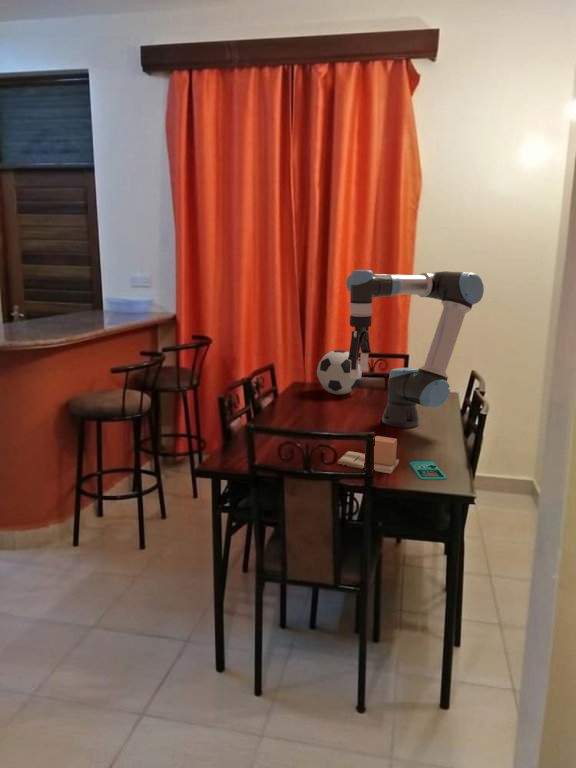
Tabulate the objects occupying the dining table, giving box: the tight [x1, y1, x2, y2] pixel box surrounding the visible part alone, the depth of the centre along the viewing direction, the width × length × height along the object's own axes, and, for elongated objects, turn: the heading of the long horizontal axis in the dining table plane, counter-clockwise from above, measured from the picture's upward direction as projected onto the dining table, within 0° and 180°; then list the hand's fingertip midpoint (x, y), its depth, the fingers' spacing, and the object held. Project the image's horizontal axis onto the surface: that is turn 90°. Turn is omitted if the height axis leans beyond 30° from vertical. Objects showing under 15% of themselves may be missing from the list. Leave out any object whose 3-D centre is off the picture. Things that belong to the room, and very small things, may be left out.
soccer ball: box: [316, 349, 363, 395], centre depth 285 cm, size 22×22×22 cm
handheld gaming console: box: [409, 460, 447, 481], centre depth 187 cm, size 8×1×15 cm
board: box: [337, 450, 400, 475], centre depth 192 cm, size 11×18×1 cm, turn 65°
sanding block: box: [374, 435, 398, 467], centre depth 189 cm, size 5×7×8 cm
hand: (359, 374), depth 206 cm, fingers open, 13 cm apart
